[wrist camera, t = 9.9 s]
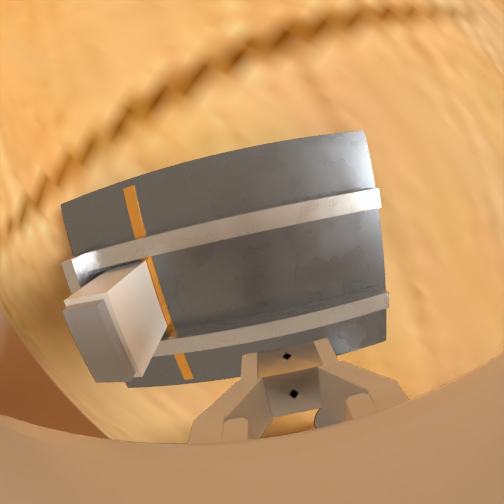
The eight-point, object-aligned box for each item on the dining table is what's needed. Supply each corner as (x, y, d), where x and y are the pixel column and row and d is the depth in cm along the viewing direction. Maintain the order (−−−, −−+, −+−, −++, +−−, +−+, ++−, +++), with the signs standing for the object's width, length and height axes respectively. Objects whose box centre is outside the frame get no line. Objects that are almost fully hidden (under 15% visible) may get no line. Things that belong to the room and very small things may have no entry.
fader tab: (145, 260, 18) (99, 298, 11) (167, 326, 19) (138, 385, 12) (109, 268, 18) (55, 306, 11) (131, 331, 19) (94, 386, 13)
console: (353, 135, 18) (384, 122, 14) (376, 329, 22) (402, 359, 17) (74, 202, 19) (36, 208, 14) (134, 374, 23) (117, 409, 18)
